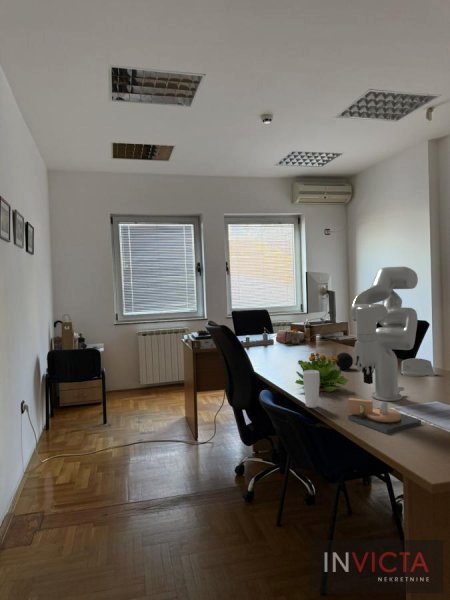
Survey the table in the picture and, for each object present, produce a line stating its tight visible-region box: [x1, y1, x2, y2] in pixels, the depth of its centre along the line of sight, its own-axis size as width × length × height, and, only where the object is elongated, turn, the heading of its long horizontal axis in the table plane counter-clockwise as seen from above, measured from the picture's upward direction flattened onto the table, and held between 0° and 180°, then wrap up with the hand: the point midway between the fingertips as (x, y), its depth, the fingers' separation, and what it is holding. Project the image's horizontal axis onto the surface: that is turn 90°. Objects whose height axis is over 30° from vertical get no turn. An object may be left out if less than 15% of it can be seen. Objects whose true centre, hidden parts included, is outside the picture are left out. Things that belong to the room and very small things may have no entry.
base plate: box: [347, 406, 422, 435], centre depth 150 cm, size 18×18×6 cm
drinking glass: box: [302, 370, 320, 409], centre depth 171 cm, size 7×7×15 cm
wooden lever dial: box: [348, 397, 402, 422], centre depth 152 cm, size 12×18×6 cm, turn 62°
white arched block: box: [400, 357, 436, 377], centre depth 222 cm, size 17×5×10 cm, turn 81°
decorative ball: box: [335, 352, 354, 370], centre depth 241 cm, size 10×10×10 cm
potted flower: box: [294, 352, 350, 393], centre depth 199 cm, size 25×24×18 cm
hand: (368, 382), depth 160 cm, fingers closed
